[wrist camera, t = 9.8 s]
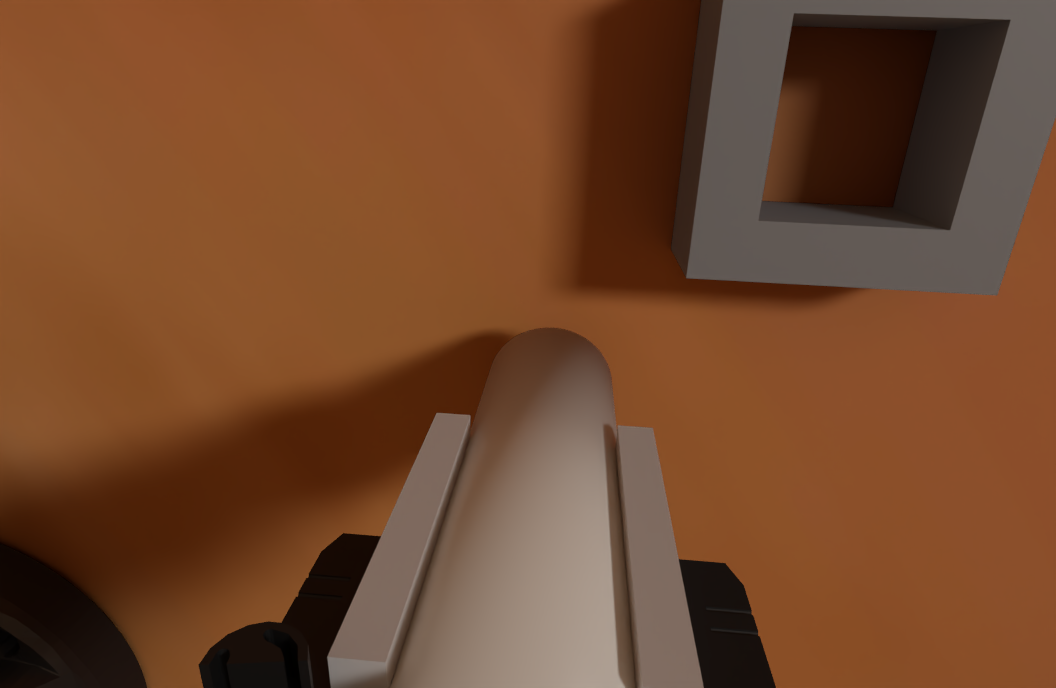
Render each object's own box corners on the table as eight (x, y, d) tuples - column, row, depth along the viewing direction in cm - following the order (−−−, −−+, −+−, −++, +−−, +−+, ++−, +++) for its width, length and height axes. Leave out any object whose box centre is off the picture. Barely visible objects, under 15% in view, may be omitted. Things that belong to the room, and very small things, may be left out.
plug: (486, 433, 19) (333, 998, 7) (490, 323, 18) (307, 795, 6) (606, 443, 19) (644, 1039, 7) (617, 332, 18) (692, 839, 6)
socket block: (670, 249, 19) (686, 278, 16) (706, -45, 16) (733, -72, 13) (934, 263, 18) (996, 295, 15) (1019, -37, 15) (1114, -63, 13)
